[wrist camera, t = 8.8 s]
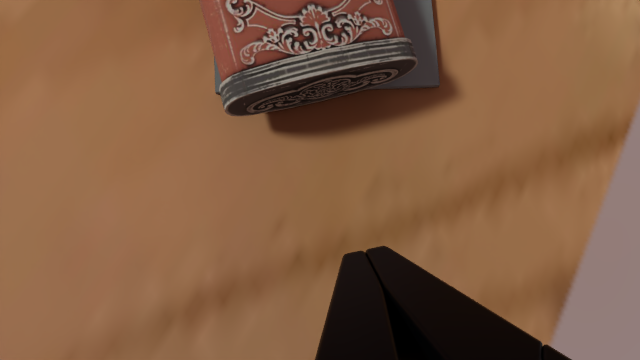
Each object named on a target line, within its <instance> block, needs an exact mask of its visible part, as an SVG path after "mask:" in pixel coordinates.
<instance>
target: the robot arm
mask: <svg viewBox="0 0 640 360" xmlns="http://www.w3.org/2000/svg"><path fill="white" fill-rule="evenodd" d="M315 360H571V359H570V358H568V357H566V356H565V355H563V354H562V353H560V352H558V351H557V350H555V349H553V348H552V347H550V346H549V345H543V347H542V343H541V341H539V340H537V339H536V338H534V337H533V336H531V335H529V334H528V333H526V332H524V331H523V330H521V329H520V328H518V327H516V326H515V325H513V324H512V323H510V322H508V321H507V320H505V319H503V318H502V317H500V316H499V315H497V314H495V313H494V312H492V311H490V310H489V309H487V308H486V307H484V306H482V305H481V304H479V303H478V302H476V301H474V300H473V299H471V298H469V297H468V296H466V295H465V294H463V293H461V292H460V291H458V290H456V289H455V288H453V287H452V286H450V285H448V284H447V283H445V282H444V281H442V280H440V279H439V278H437V277H435V276H434V275H432V274H431V273H429V272H427V271H426V270H424V269H422V268H421V267H419V266H418V265H416V264H414V263H413V262H411V261H410V260H408V259H406V258H405V257H403V256H401V255H400V254H398V253H397V252H395V251H393V250H392V249H390V248H388V247H386V246H380V247H376V248H371V249H367V250H366V252H364V251H357V252H352V253H347V254H345V255H344V256H343V258H342V262H341V265H340V269H339V273H338V276H337V280H336V284H335V287H334V291H333V295H332V299H331V302H330V306H329V310H328V313H327V317H326V321H325V324H324V328H323V332H322V336H321V339H320V343H319V347H318V350H317V354H316V358H315Z"/></svg>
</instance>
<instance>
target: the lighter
mask: <svg viewBox="0 0 640 360" xmlns="http://www.w3.org/2000/svg"><path fill="white" fill-rule="evenodd" d="M199 1H200V5H201V8H202V12H203V16H204V19H205V23H206V27H207V30H208V34H209V38H210V41H211V45H212V49H213V52H214V56H215V60H216V63H217V67H218V71H219V74H220V78H221V81H222V84H221V85H220V88H219V91H220V95H221V99H222V102H223V106H224V110H225V112H226V113H227V114H229V115H232V116H248V115H254V114H260V113H266V112H271V111H277V110H283V109H287V108H292V107H297V106H301V105H306V104H311V103H316V102H320V101H324V100H328V99H332V98H335V97H339V96H343V95H347V94H351V93H355V92H358V91H361V90H365V89H368V88H372V87H375V86H378V85H382V84H385V83H388V82H391V81H394V80H396V79H398V78H400V77H402V76H404V75H406V74H407V73H409V72H411V71H412V70H413V69H414V68H415V67H416V66H417V64H418V61H417V57H416V54H415V51H414V48H413V45H412V42H411V40H410V39H408V38H405V35H404V32H403V29H402V26H401V23H400V20H399V17H398V14H397V11H396V8H395V5H394V2H393V0H199Z"/></svg>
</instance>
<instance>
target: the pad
mask: <svg viewBox="0 0 640 360" xmlns="http://www.w3.org/2000/svg"><path fill="white" fill-rule="evenodd" d="M393 2H394V5H395V8H396V11H397V14H398V17H399V20H400V23H401V26H402V29H403V32H404V35H405V38H408V39H410V40H411V42H412V45H413V48H414V51H415V54H416V57H417V61H418V64H417V66H416V67H415V68H414V69H413V70H412V71H411V72H409V73H407V74H406V75H404V76H402V77H400V78H398V79H396V80H394V81H391V82H388V83H385V84H382V85H378V86H375V87H372V88H368V89H396V88H427V87H438V86H439V85H440V81H439V71H438V61H437V51H436V41H435V31H434V21H433V11H432V2H431V0H393ZM214 63H215V92H216V94H220V91H219V88H220V85H221V84H222V81H221V78H220V74H219V71H218V67H217V63H216V60H215V56H214ZM365 90H366V89H365Z"/></svg>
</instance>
